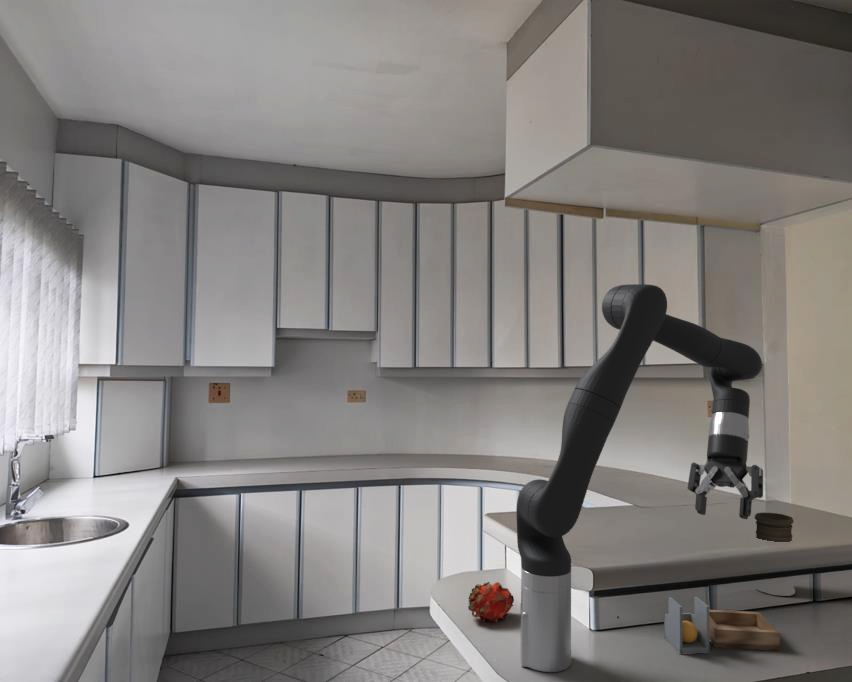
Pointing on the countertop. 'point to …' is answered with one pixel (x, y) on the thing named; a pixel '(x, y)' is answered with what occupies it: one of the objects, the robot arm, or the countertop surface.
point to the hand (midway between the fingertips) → (721, 516)
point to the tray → (742, 630)
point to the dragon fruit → (490, 601)
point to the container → (774, 527)
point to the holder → (698, 619)
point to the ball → (688, 632)
